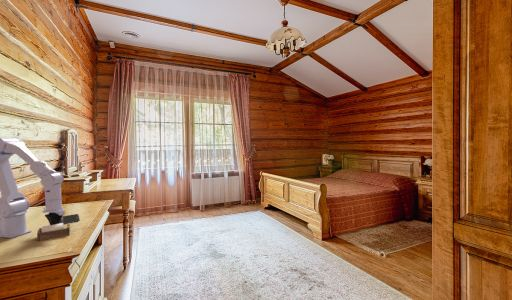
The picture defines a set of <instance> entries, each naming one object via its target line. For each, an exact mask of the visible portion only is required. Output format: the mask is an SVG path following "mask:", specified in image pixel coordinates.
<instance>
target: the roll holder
mask: <svg viewBox="0 0 512 300" xmlns="http://www.w3.org/2000/svg"><path fill="white" fill-rule="evenodd" d="M70 224H71V223H67V224H66V228H64V229H60V230H54V231H48V232H43V233H42V227H39V228H38V230H37V233H36V235H37V242H39V241H46V240H50V239H54V238H55V239H56V238H61V237H65V236H70V232H71V228H70V227H71V226H70Z"/></svg>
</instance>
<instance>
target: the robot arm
mask: <svg viewBox="0 0 512 300" xmlns="http://www.w3.org/2000/svg"><path fill="white" fill-rule="evenodd" d="M14 155H15V156H16V155H17V157H19V158H20V159H22V160H23V161H24V162H26V164H28V165H29V170H30V171H31V172H32V173H34V175H36V176H37V177H38V178H39V179H40V180H39V181H40V185H42V186H43V191H44V201H45V202H44V203H45V205H44V207H43V210H42V211H41V212H42V214H43V213H44V217H45V218H46V219H47V221H48V223H49V225H54V224H60V223H61V218H62V216H65V215H66V213H65V211H66V210H65V209H64V208H63V204H62V203H63V202H62V201H63V199H62V183H63V182H64V180H65V179H64V178H65V177H64V175H63V174H62V172H60V171H56V170H55V169H52V168H51V166H50V165H48V162H47V161H44V160H39V159H38V158H37V157H36V156H35V155H34V154H33V153H32V152H31V151H30V150H29V149H28V148H27V147H26V142H24V141H23V140H22V139H21V138H19V137H0V194H1V195H0V196H1V197H0V238H5V239H6V238H9V239H13V238H15V237H18V236H19V237H20V236H21V235H25V234H28V233H31V232H32V230H30V229H27V221H26V213H27V212H28V211H27V210H28V209H30V205H31V204H30V201H29V200H28V199H27V198H26V195H25V194H23V193H21V192H20V191H19V190H18V189H19V188H18V185H17V182H16V179H15V175H14V173H13V170H12V167H11V163H10V158H12V157H13V156H14ZM45 213H46V214H45Z"/></svg>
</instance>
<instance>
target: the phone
mask: <svg viewBox="0 0 512 300" xmlns="http://www.w3.org/2000/svg"><path fill="white" fill-rule="evenodd" d="M78 221H79V222H80V215H79V214H78V213H76V214H75V213H74V214H69V215H63V216H62V218H61V220H60V223H63V225H67V223H70V224H72V223H73V222H74V223H78ZM74 223H73V224H74Z"/></svg>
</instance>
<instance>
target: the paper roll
mask: <svg viewBox="0 0 512 300" xmlns="http://www.w3.org/2000/svg"><path fill="white" fill-rule="evenodd" d="M41 228H42V233H43V232H48V231H54V230H60V229H65V228H64V224H63V223H61V222H60V224H54V225H50V224H49V225H45V226H44V225H43V226H42V227H41Z"/></svg>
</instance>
